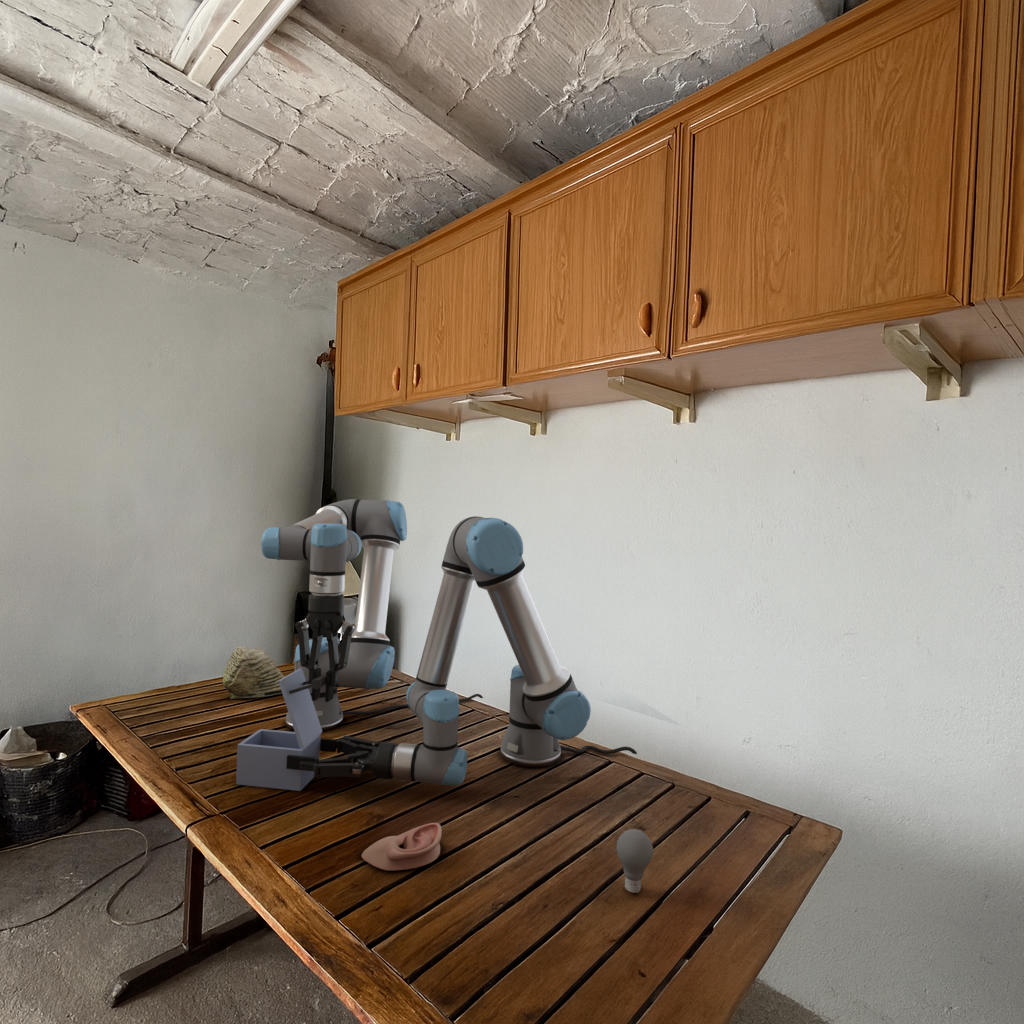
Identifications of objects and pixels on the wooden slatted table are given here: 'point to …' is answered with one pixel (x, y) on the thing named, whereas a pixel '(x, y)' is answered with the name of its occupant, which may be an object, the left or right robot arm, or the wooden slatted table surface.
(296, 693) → the lid
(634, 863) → the light bulb
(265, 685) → the fossil
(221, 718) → the wooden slatted table surface
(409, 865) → the anatomical model
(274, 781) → the chest
